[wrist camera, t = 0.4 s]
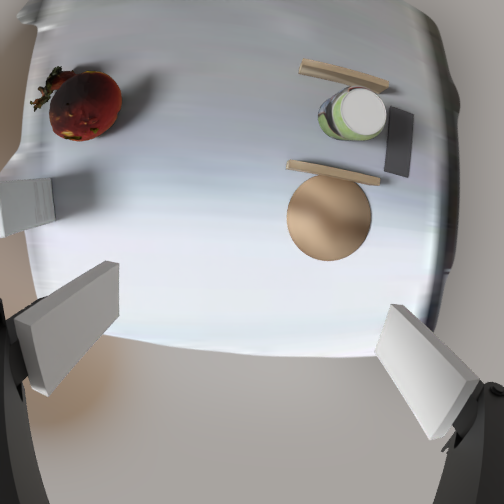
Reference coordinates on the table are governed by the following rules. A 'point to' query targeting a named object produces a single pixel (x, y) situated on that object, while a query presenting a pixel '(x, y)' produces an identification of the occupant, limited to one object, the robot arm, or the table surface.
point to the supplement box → (25, 205)
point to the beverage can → (353, 114)
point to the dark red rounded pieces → (80, 103)
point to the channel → (346, 78)
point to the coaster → (328, 217)
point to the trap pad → (399, 142)
